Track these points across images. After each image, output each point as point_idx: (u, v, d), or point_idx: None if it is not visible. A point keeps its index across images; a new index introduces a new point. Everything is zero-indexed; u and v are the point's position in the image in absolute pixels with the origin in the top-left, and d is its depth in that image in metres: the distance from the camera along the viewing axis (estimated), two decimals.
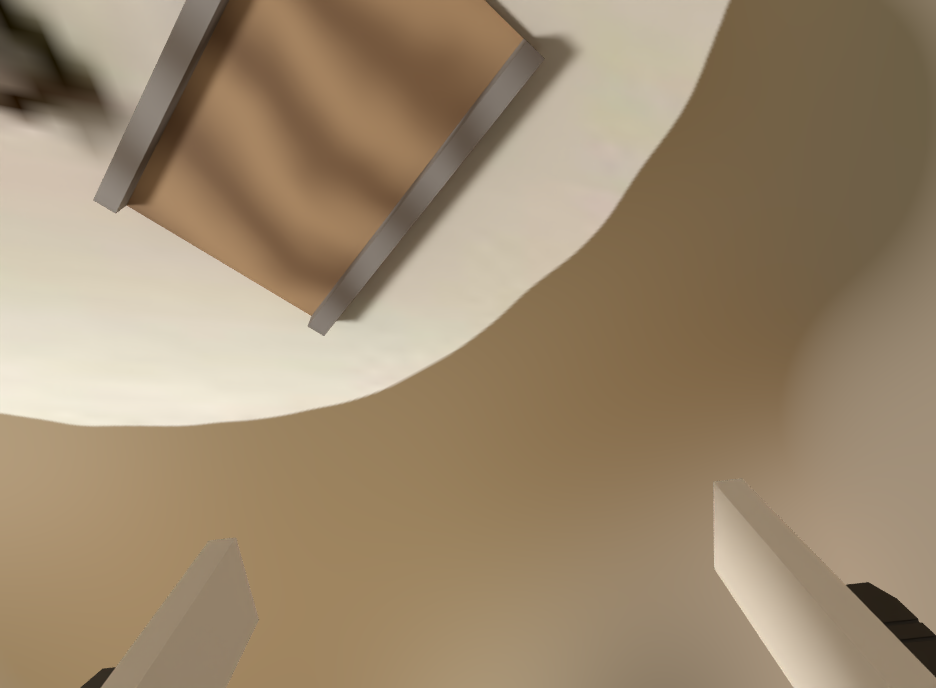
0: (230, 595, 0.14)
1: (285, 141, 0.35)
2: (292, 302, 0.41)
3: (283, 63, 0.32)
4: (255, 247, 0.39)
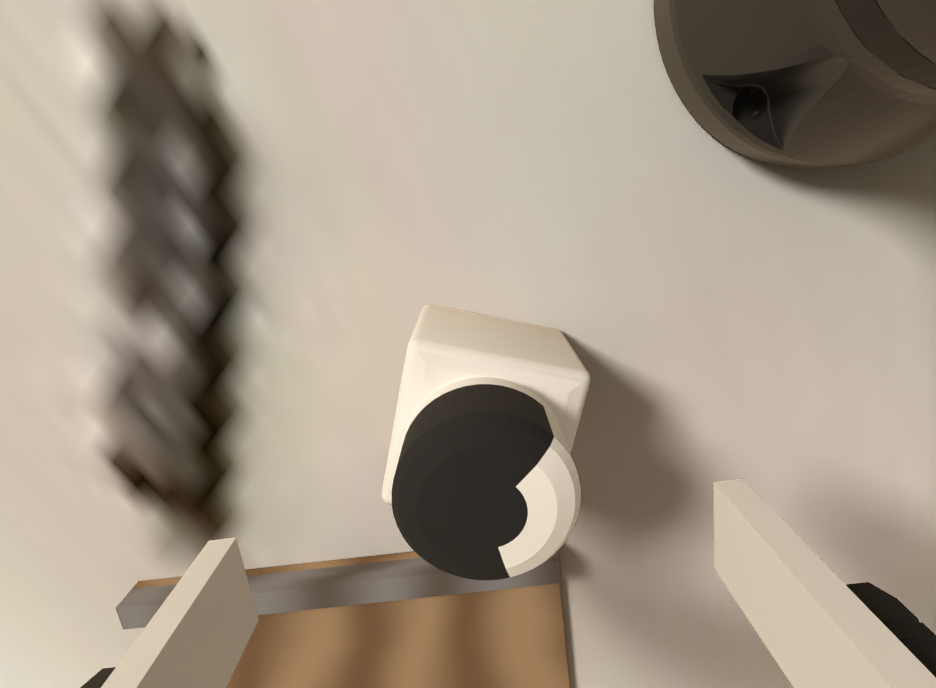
0: (230, 595, 0.14)
1: (334, 676, 0.33)
2: None
3: (392, 638, 0.32)
4: None
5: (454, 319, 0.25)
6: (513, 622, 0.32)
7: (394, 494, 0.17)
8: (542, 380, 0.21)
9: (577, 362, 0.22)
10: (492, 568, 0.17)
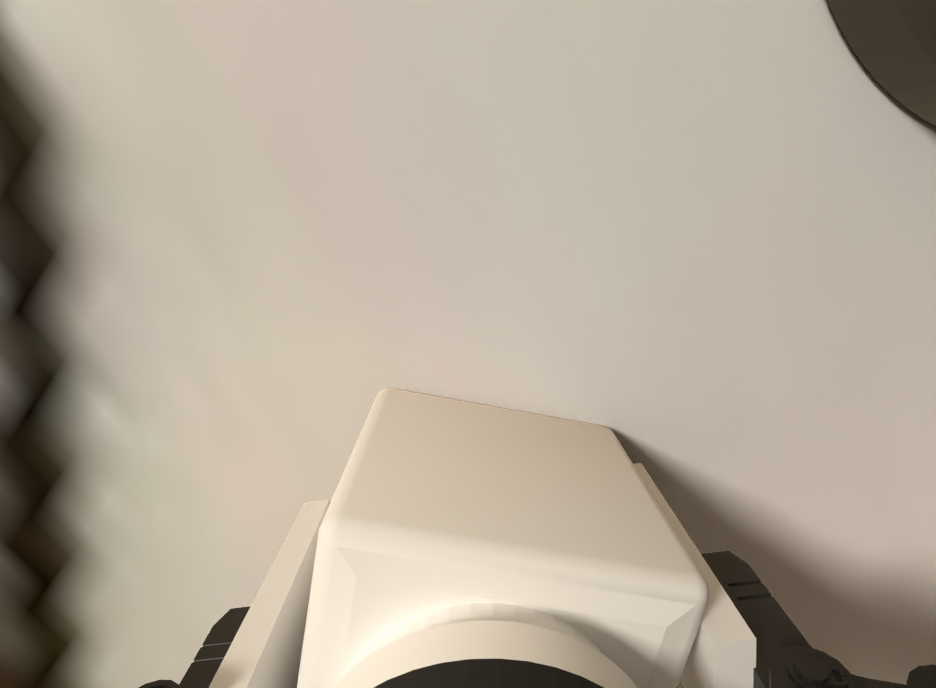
0: None
1: None
2: None
3: None
4: None
5: (428, 428, 0.14)
6: None
7: None
8: (610, 602, 0.10)
9: (672, 541, 0.11)
10: None
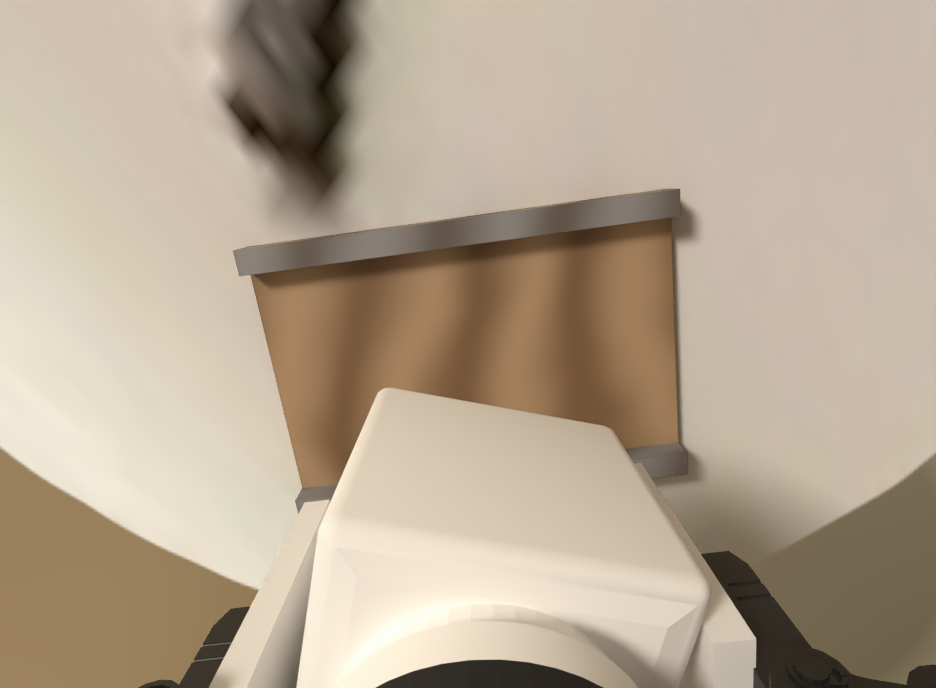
0: None
1: (441, 351, 0.33)
2: (299, 464, 0.35)
3: (501, 305, 0.32)
4: (322, 397, 0.33)
5: (428, 427, 0.14)
6: (623, 284, 0.32)
7: None
8: (611, 603, 0.09)
9: (673, 541, 0.11)
10: None
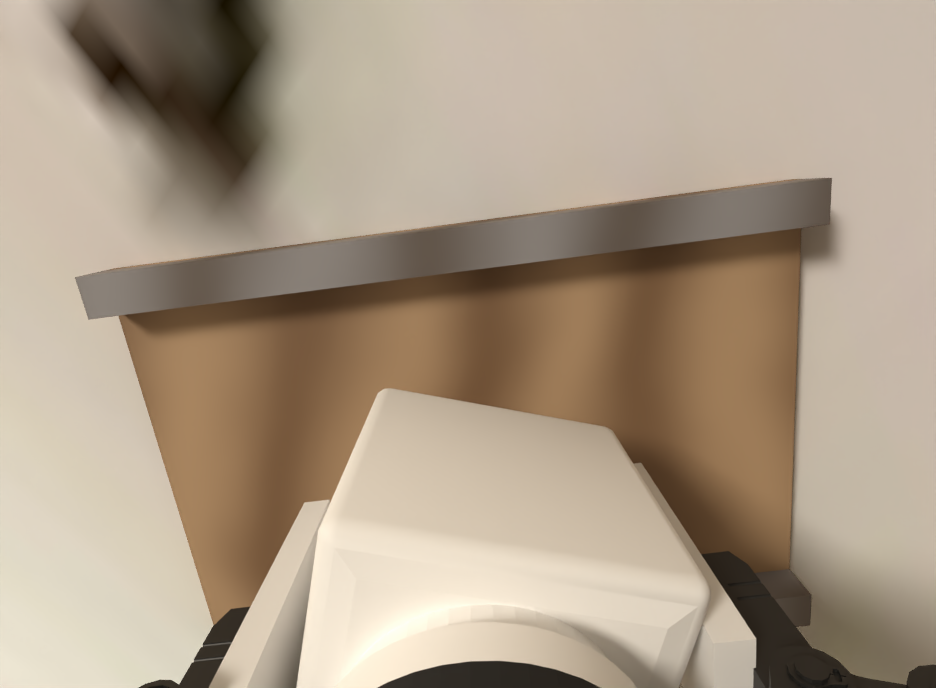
0: None
1: None
2: (208, 597, 0.23)
3: (522, 364, 0.20)
4: (241, 501, 0.21)
5: (428, 428, 0.14)
6: (717, 333, 0.20)
7: None
8: (610, 603, 0.10)
9: (673, 542, 0.11)
10: None
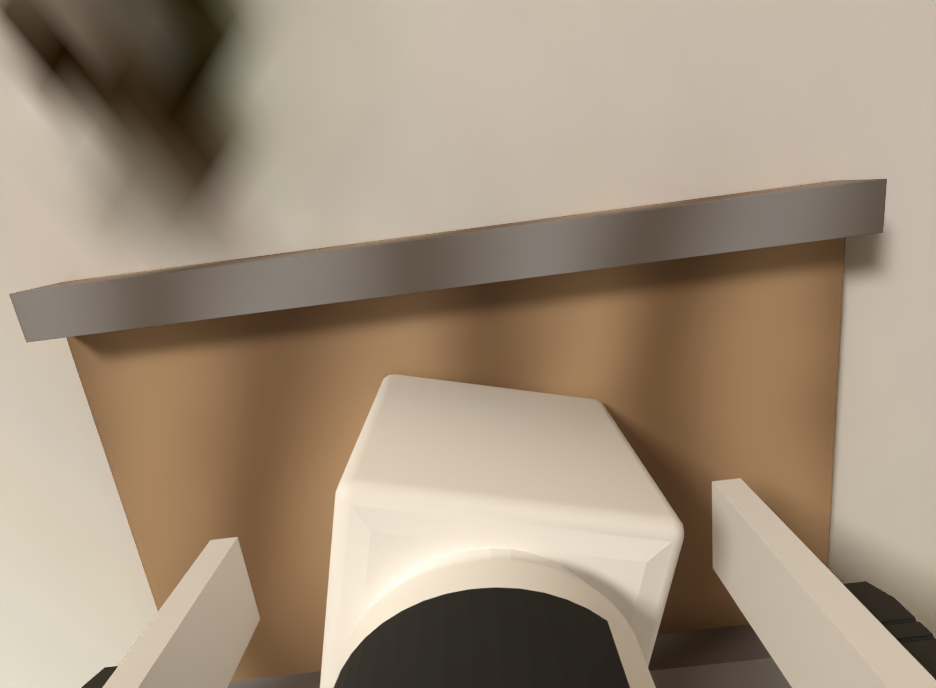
0: (231, 594, 0.14)
1: None
2: None
3: (526, 390, 0.18)
4: None
5: (430, 406, 0.15)
6: (748, 354, 0.17)
7: None
8: (595, 543, 0.11)
9: (651, 490, 0.12)
10: None
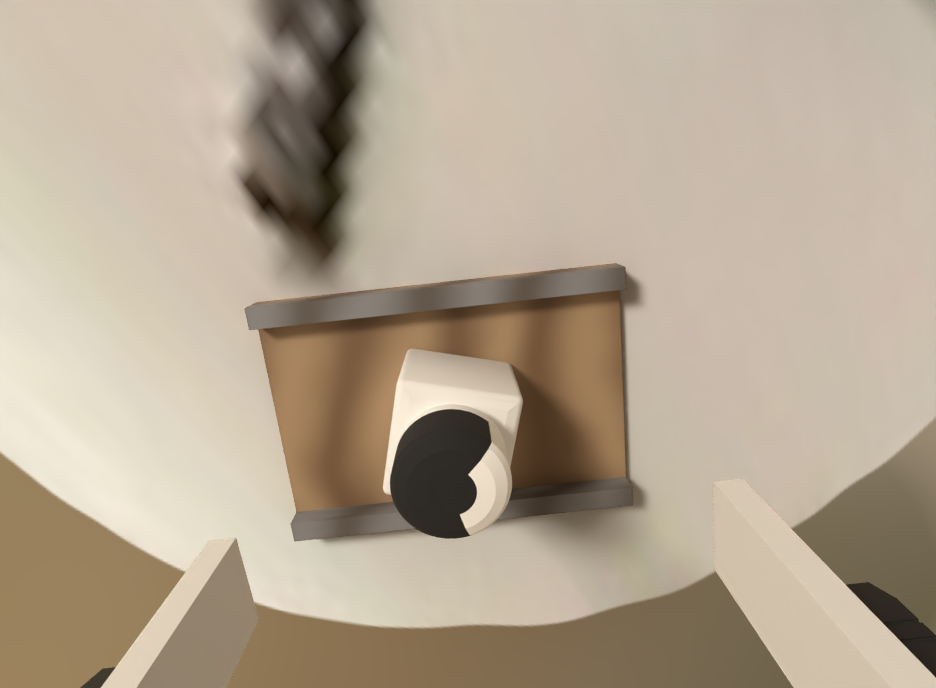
0: (230, 595, 0.14)
1: None
2: (294, 490, 0.39)
3: (475, 357, 0.37)
4: (317, 433, 0.38)
5: (429, 360, 0.34)
6: (579, 342, 0.37)
7: (392, 484, 0.27)
8: (489, 403, 0.30)
9: (514, 389, 0.32)
10: (457, 528, 0.27)
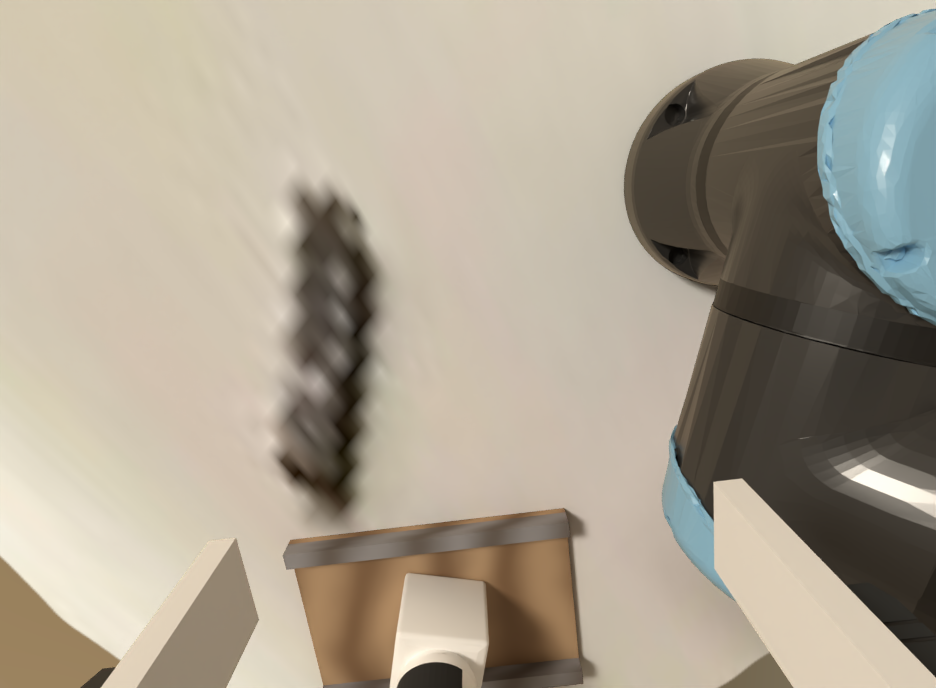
0: (230, 595, 0.14)
1: None
2: (321, 670, 0.51)
3: (457, 577, 0.48)
4: (338, 630, 0.50)
5: (421, 593, 0.46)
6: (537, 565, 0.48)
7: None
8: (463, 647, 0.41)
9: (483, 630, 0.43)
10: None
